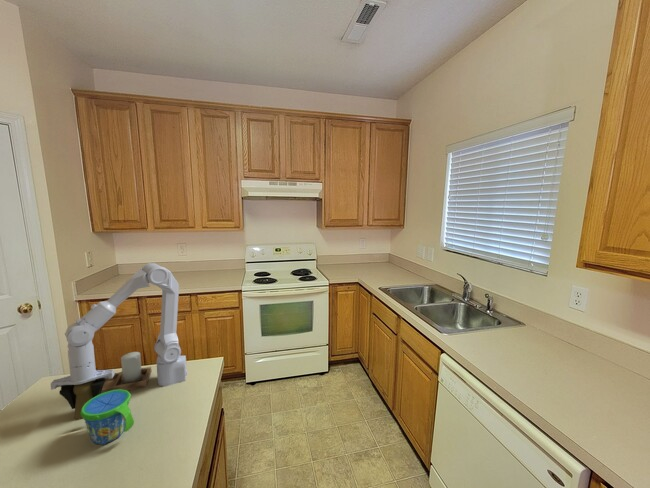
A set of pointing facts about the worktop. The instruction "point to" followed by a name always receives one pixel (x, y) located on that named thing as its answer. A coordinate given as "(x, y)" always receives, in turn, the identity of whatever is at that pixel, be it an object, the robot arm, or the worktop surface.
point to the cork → (82, 396)
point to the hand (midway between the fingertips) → (86, 404)
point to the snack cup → (108, 416)
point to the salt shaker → (131, 367)
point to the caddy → (117, 384)
